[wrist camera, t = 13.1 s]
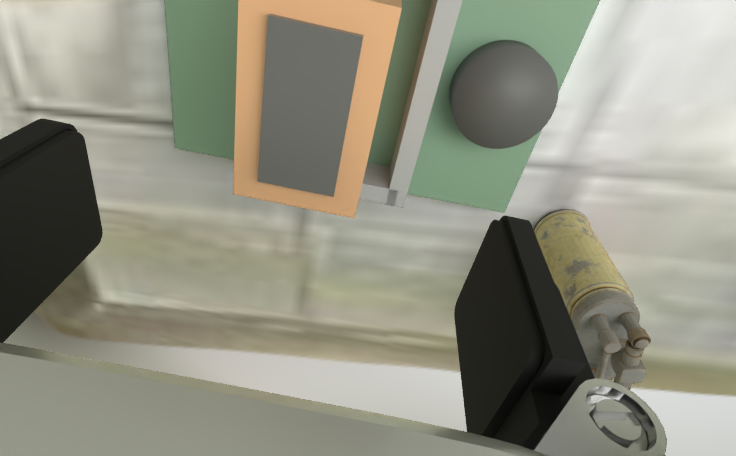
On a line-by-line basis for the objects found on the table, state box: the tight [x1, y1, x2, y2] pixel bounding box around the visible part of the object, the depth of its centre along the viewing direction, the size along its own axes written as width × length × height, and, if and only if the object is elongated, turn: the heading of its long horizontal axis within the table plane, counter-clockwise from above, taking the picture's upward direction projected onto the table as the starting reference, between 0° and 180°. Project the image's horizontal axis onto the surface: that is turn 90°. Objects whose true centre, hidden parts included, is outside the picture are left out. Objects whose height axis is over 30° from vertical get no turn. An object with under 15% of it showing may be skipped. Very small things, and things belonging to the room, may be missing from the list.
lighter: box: [534, 210, 651, 390], centre depth 26 cm, size 7×4×10 cm, turn 7°
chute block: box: [233, 0, 402, 218], centre depth 19 cm, size 5×8×8 cm, turn 168°
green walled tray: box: [165, 0, 600, 213], centre depth 22 cm, size 20×14×4 cm
